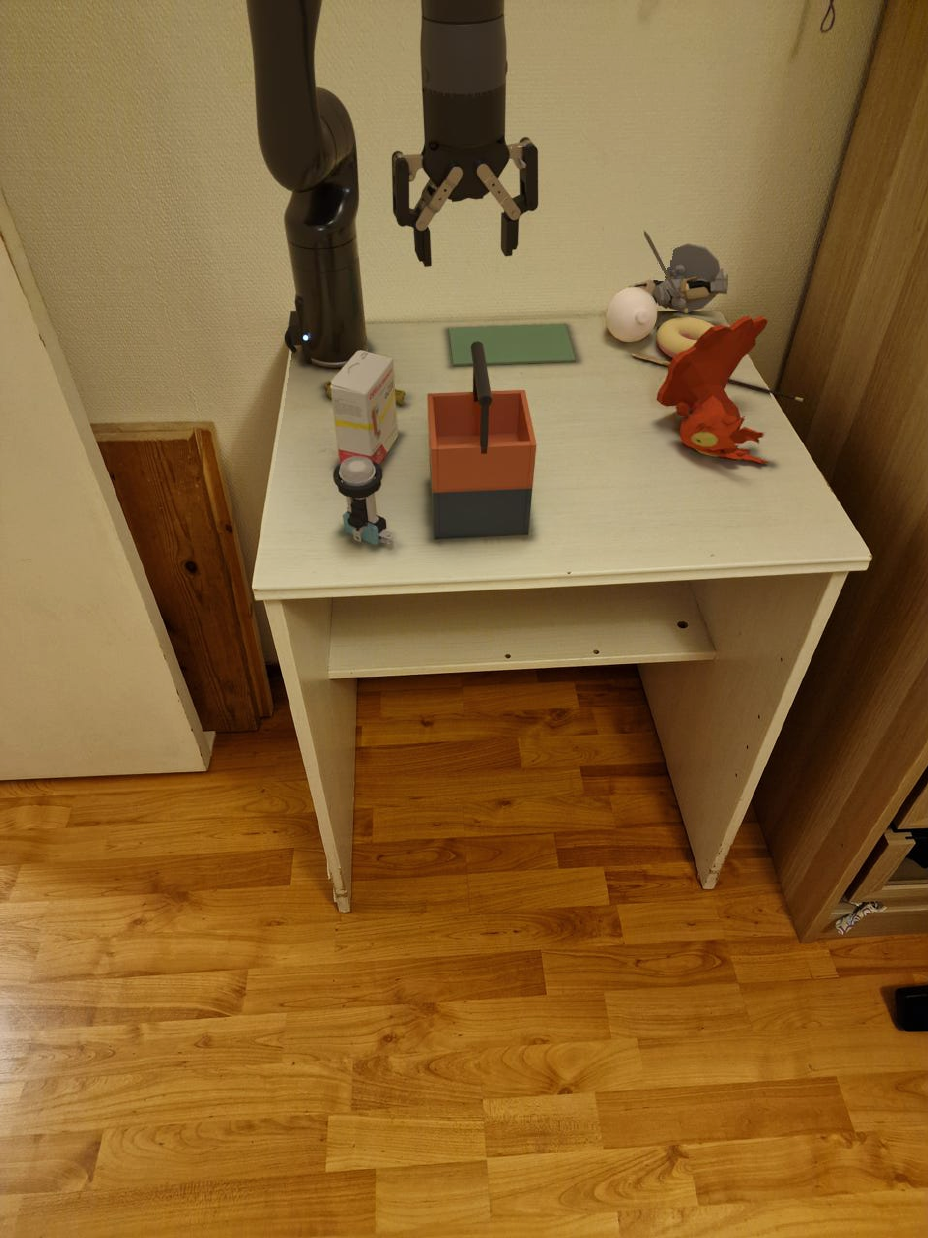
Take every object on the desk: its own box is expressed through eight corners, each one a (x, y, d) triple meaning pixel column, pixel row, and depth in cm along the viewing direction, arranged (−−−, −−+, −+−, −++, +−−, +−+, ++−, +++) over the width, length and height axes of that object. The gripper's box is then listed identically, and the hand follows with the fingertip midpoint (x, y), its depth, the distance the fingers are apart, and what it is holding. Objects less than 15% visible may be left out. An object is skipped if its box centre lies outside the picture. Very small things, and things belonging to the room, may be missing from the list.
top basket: (432, 493, 88) (429, 397, 78) (428, 437, 94) (425, 342, 85) (532, 488, 88) (541, 392, 79) (521, 433, 95) (528, 339, 85)
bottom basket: (434, 539, 93) (432, 493, 88) (430, 483, 99) (428, 437, 94) (528, 534, 94) (532, 488, 88) (518, 479, 100) (521, 433, 95)
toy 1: (712, 175, 108) (605, 200, 115) (705, 243, 105) (595, 264, 112) (734, 276, 125) (640, 292, 132) (729, 337, 122) (632, 350, 129)
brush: (630, 352, 118) (802, 399, 110) (633, 349, 118) (804, 396, 111) (629, 357, 118) (801, 404, 111) (632, 354, 119) (802, 400, 112)
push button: (406, 534, 94) (401, 466, 86) (378, 561, 91) (371, 493, 83) (361, 513, 96) (352, 444, 88) (332, 538, 93) (321, 470, 85)
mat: (453, 366, 116) (453, 363, 116) (448, 330, 123) (448, 327, 123) (575, 361, 117) (575, 359, 117) (564, 326, 124) (565, 323, 124)
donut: (687, 385, 117) (732, 358, 120) (695, 361, 113) (742, 333, 116) (641, 345, 121) (686, 320, 124) (647, 321, 117) (693, 295, 119)
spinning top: (618, 347, 128) (649, 355, 117) (581, 321, 125) (608, 326, 114) (645, 302, 126) (679, 306, 115) (608, 275, 123) (639, 276, 112)
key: (408, 387, 110) (393, 407, 107) (409, 396, 111) (394, 416, 108) (332, 371, 113) (315, 390, 110) (333, 379, 114) (316, 398, 111)
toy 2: (640, 380, 100) (712, 464, 94) (761, 288, 97) (843, 369, 90) (658, 425, 111) (723, 503, 105) (767, 344, 108) (841, 419, 102)
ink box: (374, 475, 100) (366, 393, 91) (338, 466, 101) (326, 385, 92) (400, 435, 106) (395, 355, 97) (366, 428, 107) (357, 347, 98)
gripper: (529, 57, 74) (522, 235, 87) (377, 70, 72) (392, 250, 85) (553, 81, 69) (542, 266, 82) (391, 96, 67) (405, 283, 80)
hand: (466, 258), depth 83 cm, fingers open, 8 cm apart
